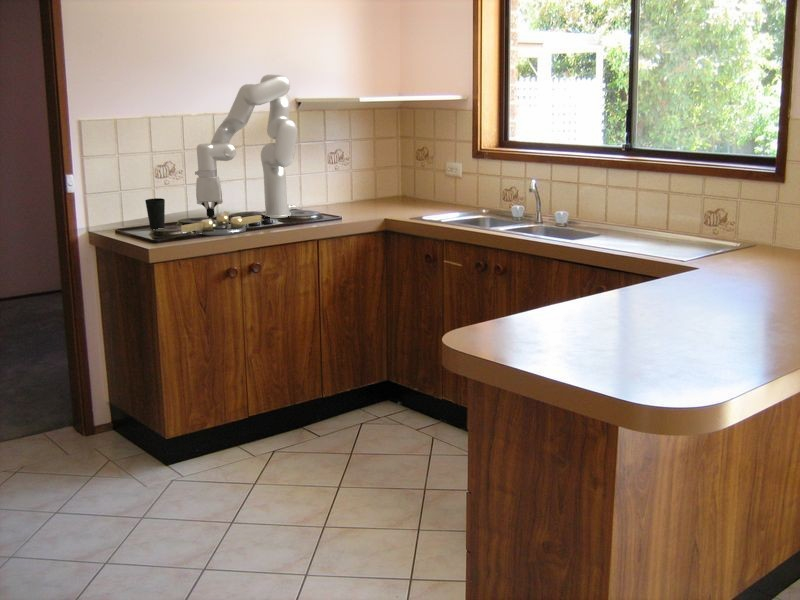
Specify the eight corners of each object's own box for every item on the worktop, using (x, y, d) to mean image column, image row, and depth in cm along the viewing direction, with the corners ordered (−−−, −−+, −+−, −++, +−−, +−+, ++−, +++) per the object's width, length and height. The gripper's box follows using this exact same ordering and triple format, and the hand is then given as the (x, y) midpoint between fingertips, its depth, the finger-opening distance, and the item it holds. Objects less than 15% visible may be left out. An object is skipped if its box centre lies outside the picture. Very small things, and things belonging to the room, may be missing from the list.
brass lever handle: (235, 228, 360) (234, 218, 359) (228, 226, 364) (227, 216, 363) (263, 223, 370) (263, 213, 369) (257, 222, 373) (256, 212, 372)
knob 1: (228, 225, 367) (227, 215, 366) (216, 225, 367) (215, 215, 366) (232, 218, 381) (231, 209, 380) (221, 219, 381) (220, 209, 379)
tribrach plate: (225, 224, 377) (225, 218, 377) (256, 230, 364) (255, 223, 364) (185, 231, 363) (185, 225, 362) (215, 237, 350) (215, 231, 349)
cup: (155, 231, 364) (153, 202, 361) (143, 229, 369) (141, 200, 365) (170, 228, 370) (168, 199, 367) (159, 226, 375) (156, 197, 371)
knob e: (208, 228, 362) (208, 217, 361) (216, 229, 359) (215, 219, 358) (179, 233, 352) (178, 223, 351) (186, 234, 349) (185, 224, 348)
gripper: (187, 175, 369) (191, 219, 374) (224, 174, 369) (227, 219, 374) (191, 173, 376) (194, 216, 381) (227, 172, 377) (230, 215, 382)
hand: (210, 217), depth 378 cm, fingers closed
